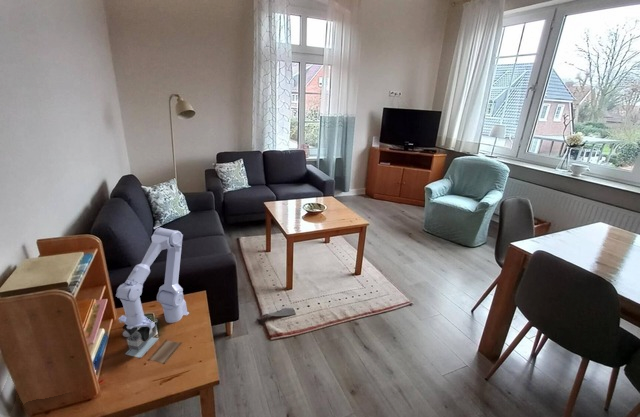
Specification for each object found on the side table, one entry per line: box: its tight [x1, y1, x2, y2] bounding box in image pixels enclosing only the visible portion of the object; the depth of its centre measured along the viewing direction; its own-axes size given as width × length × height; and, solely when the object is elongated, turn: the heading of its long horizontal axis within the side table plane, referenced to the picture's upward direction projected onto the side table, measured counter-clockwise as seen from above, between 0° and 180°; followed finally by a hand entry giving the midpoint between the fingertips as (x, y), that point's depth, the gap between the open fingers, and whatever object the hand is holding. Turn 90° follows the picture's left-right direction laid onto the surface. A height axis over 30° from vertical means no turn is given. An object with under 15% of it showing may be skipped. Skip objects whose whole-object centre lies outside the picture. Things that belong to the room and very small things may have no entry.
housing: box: [126, 327, 154, 351], centre depth 121 cm, size 8×4×5 cm, turn 168°
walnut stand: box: [148, 339, 182, 364], centre depth 121 cm, size 7×10×2 cm
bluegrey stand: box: [124, 336, 159, 359], centre depth 123 cm, size 7×10×2 cm
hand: (140, 338), depth 122 cm, fingers closed on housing, 4 cm apart
